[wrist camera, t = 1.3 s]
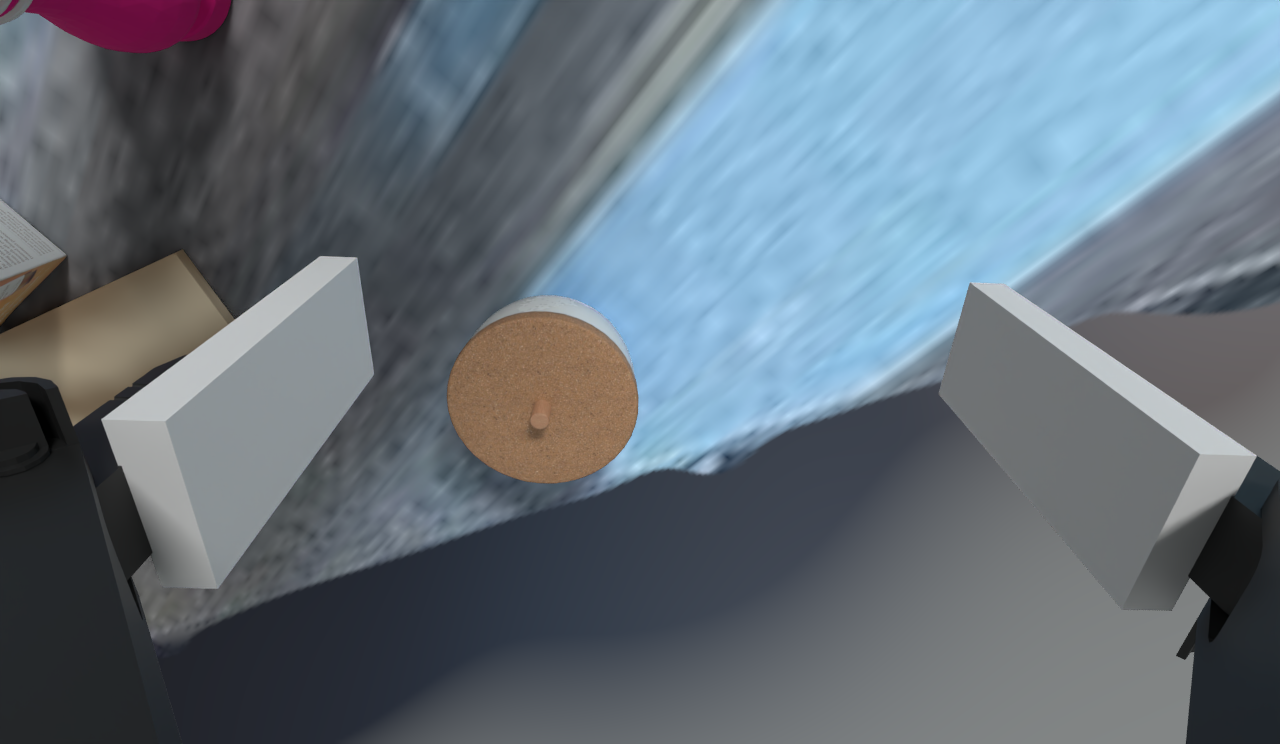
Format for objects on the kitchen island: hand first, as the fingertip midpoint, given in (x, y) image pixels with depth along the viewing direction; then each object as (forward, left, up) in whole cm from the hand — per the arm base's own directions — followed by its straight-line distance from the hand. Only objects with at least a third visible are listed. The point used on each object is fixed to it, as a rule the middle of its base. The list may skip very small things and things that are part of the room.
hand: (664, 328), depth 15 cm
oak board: (+1, -39, -27) cm, 48 cm away
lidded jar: (+10, -10, -27) cm, 31 cm away
